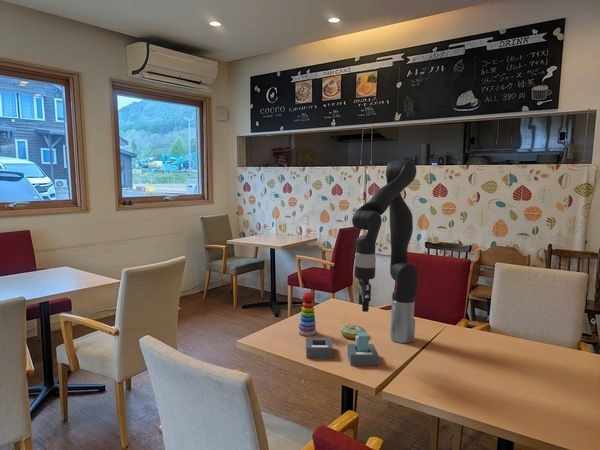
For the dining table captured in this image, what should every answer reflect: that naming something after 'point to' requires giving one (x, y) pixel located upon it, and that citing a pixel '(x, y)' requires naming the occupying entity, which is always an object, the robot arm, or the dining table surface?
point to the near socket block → (362, 356)
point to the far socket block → (319, 348)
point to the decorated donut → (351, 331)
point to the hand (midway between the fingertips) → (363, 307)
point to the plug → (362, 341)
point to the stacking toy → (307, 315)
